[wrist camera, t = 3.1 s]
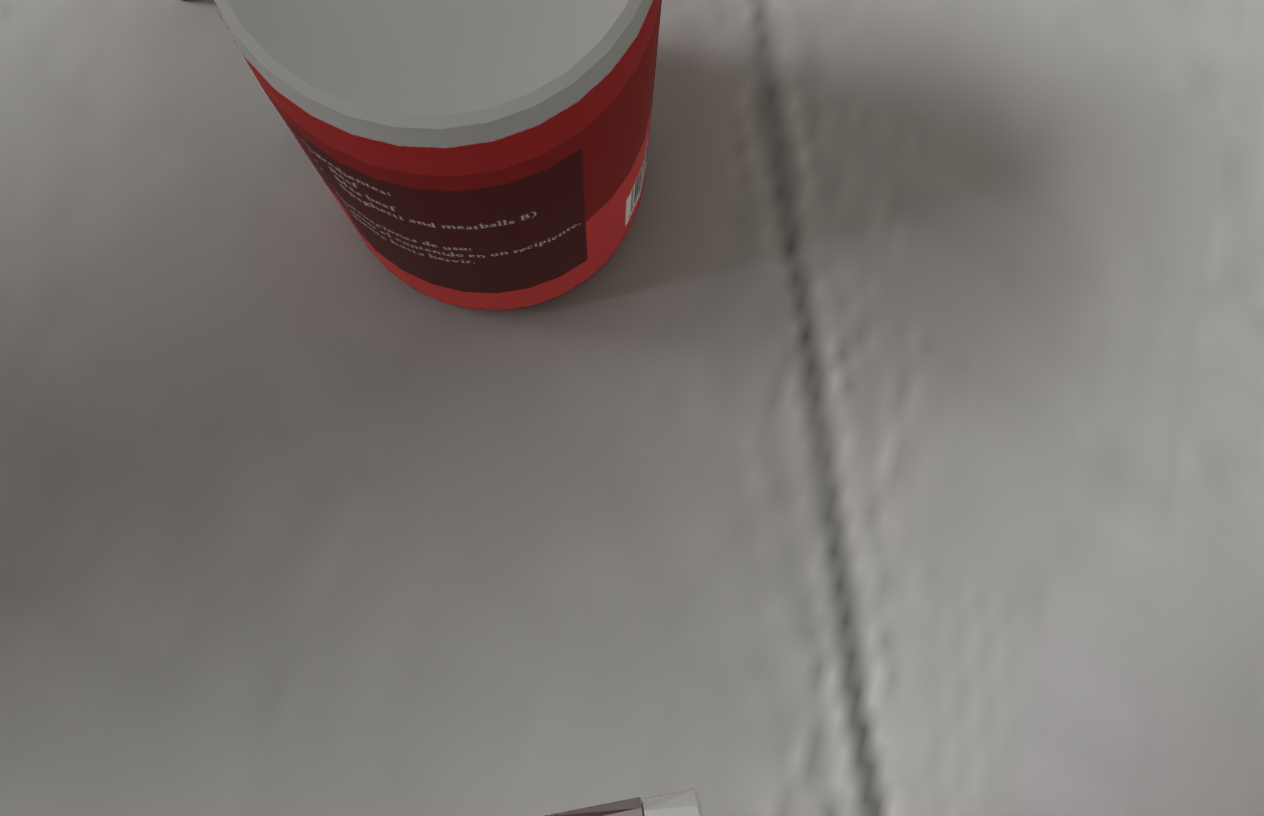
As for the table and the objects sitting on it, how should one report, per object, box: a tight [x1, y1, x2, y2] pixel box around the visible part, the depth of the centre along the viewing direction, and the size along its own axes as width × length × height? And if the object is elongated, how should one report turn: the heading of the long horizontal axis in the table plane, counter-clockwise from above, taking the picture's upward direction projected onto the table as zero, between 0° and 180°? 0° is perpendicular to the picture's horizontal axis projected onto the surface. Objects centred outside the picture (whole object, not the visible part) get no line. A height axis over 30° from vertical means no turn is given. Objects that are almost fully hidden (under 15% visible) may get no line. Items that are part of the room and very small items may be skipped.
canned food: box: [214, 0, 662, 310], centre depth 23 cm, size 8×8×11 cm
